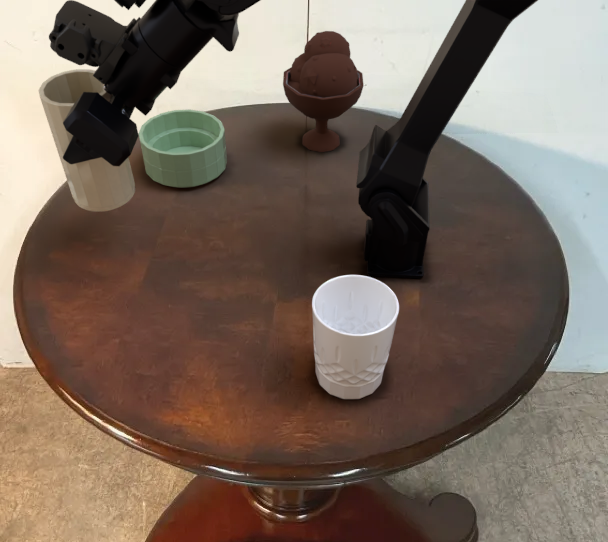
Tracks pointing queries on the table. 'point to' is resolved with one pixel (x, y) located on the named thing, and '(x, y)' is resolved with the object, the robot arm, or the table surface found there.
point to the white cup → (352, 334)
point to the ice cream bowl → (323, 86)
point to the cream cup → (57, 103)
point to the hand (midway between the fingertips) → (77, 141)
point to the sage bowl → (183, 148)
